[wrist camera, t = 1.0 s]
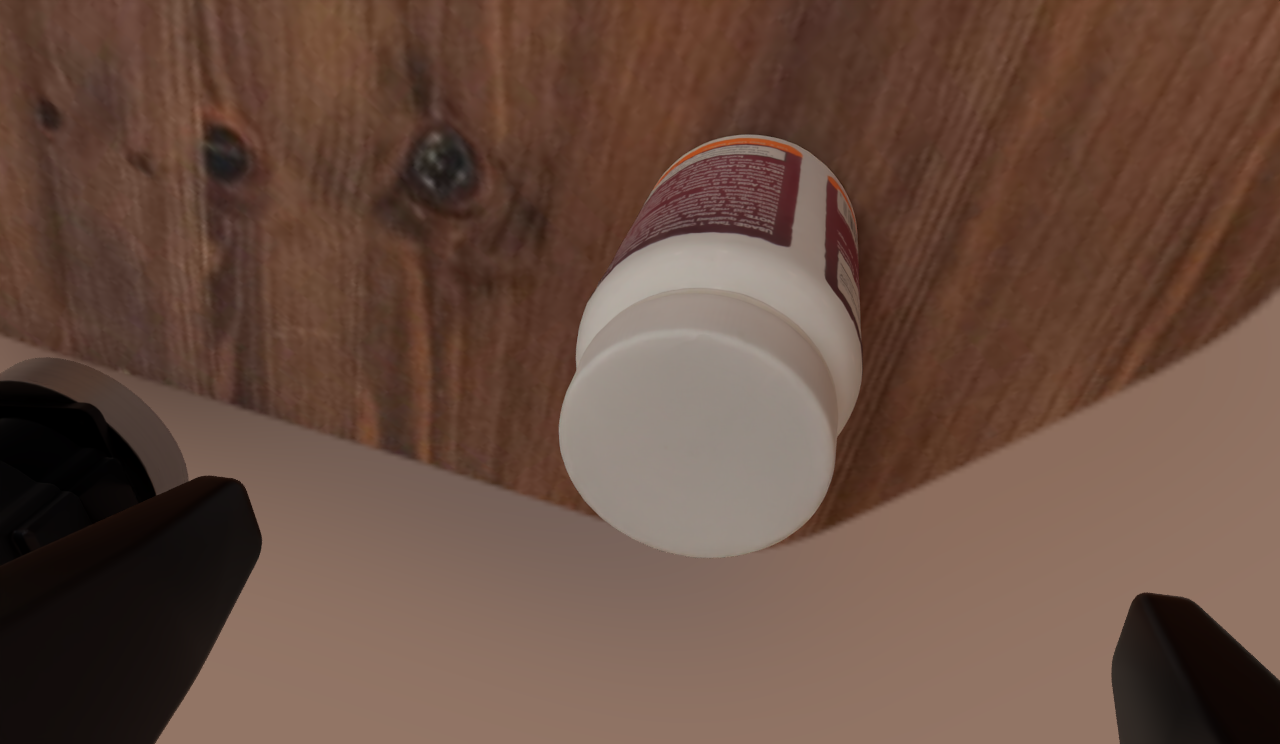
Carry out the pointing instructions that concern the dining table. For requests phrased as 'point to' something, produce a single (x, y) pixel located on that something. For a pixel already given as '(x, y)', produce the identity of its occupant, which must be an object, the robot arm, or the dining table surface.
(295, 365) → the dining table surface
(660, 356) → the pill bottle
